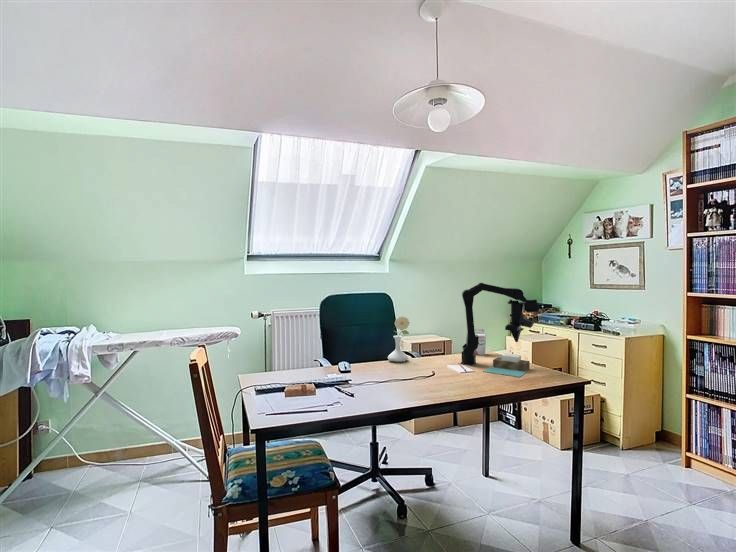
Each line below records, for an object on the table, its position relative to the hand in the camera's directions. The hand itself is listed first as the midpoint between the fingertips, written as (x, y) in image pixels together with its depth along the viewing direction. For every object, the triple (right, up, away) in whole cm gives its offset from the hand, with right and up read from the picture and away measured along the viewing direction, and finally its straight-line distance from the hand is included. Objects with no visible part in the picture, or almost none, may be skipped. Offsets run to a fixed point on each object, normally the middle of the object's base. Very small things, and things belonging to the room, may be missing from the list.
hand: (516, 341), depth 226 cm
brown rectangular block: (-5, -12, -7) cm, 15 cm away
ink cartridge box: (-14, -12, +27) cm, 32 cm away
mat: (-11, -13, -14) cm, 22 cm away
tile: (-5, -7, -7) cm, 11 cm away
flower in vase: (-61, -13, +12) cm, 63 cm away
